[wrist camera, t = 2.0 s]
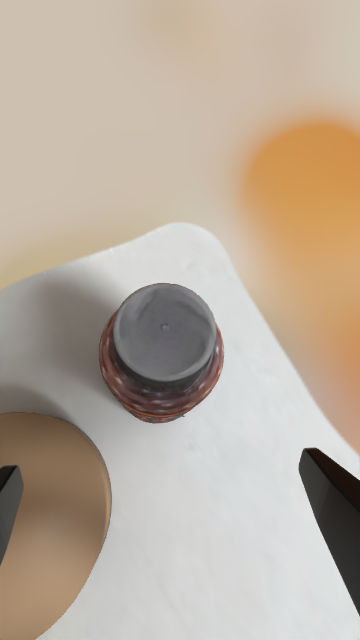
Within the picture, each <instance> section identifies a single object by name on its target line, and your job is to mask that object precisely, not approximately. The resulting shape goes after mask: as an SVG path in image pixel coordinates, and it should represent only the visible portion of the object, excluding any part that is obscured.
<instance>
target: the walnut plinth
mask: <svg viewBox="0 0 360 640" xmlns="http://www.w3.org/2000/svg"><path fill="white" fill-rule="evenodd" d="M5 465H18V466H19V468H20V471H21V475H22V478H23V482H24V489H23V494H22V497H21V501H20V505H19V508H18V512H17V515H16V519H15V522H14V526H13V529H12V533H11V537H10V540H9V543H8V547H7V550H6V553H5V555H4V558H3V561H2V563H1V566H0V640H35V639H37V638H38V637H39V636H40V635H42V634H43V633H44V632H45V631H47V630H48V629H49V628H50V627H51V626H52V625H53V624H54V623H55V622H56V621H57V620H58V619H59V618H60V617H61V616H62V615H63V614H64V613H65V612H66V610H67V609H68V608H69V607H70V605H71V604H72V603H73V602H74V600H75V599H76V597H77V596H78V594H79V593H80V591H81V589H82V588H83V586H84V585H85V583H86V581H87V579H88V577H89V575H90V573H91V571H92V569H93V567H94V564H95V562H96V560H97V558H98V556H99V554H100V552H101V549H102V546H103V544H104V541H105V538H106V535H107V531H108V527H109V523H110V516H111V505H112V494H111V483H110V478H109V474H108V470H107V467H106V464H105V462H104V459H103V457H102V455H101V454H100V452H99V450H98V448H97V447H96V446H95V444H94V443H93V441H92V440H91V439H90V438H89V437H88V436H87V435H86V434H85V433H84V432H82V431H81V430H80V429H78V428H77V427H75V426H74V425H72V424H70V423H68V422H66V421H63V420H61V419H58V418H54V417H49V416H45V415H40V414H35V413H26V412H15V413H5V414H0V468H1V467H3V466H5Z"/></svg>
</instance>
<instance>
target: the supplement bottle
mask: <svg viewBox="0 0 360 640" xmlns="http://www.w3.org/2000/svg"><path fill="white" fill-rule="evenodd" d="M223 359H224V346H223V340H222V337H221V333H220V330H219V328H218V326H217V324H216V322H215V320H214V317H213V314H212V312H211V310H210V309H209V307H208V305H207V304H206V303H205V302H204V301H203V300H202V298H201V297H200V296H199V295H197V294H196V293H195V292H193V291H192V290H190V289H188V288H185V287H183V286H180V285H177V284H169V283H157V284H153V285H148V286H146V287H143V288H140V289H138V290H137V291H135V292H134V293H132V294H131V295H130V296H129V297H128V298H127V299H126V300H125V301H124V302H123V303H122V305H121V306H120V308H119V309H118V310H117V311H116V312H115V313H114V314H113V316H112V317H111V318H110V320H109V321H108V323H107V324H106V326H105V328H104V330H103V333H102V336H101V340H100V344H99V362H100V368H101V372H102V375H103V378H104V380H105V382H106V384H107V386H108V387H109V389H110V390H111V392H112V393H113V395H114V396H115V397H116V398H117V399H118V401H119V402H121V404H122V405H123V406H124V408H125V409H126V410H127V411H128V412H129V413H131V414H132V415H133V416H135V417H136V418H138V419H140V420H142V421H144V422H149V423H165V422H170V421H173V420H175V419H177V418H179V417H181V416H183V415H184V414H185V413H187V412H188V411H190V410H191V409H192V408H194V407H195V406H196V405H198V404H199V403H200V402H201V401H202V400H204V399H205V398H206V397H207V396H208V394H209V393H210V392H211V391H212V389H213V388H214V386H215V384H216V383H217V381H218V379H219V376H220V374H221V371H222V367H223ZM183 417H184V416H183Z"/></svg>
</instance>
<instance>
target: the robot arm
mask: <svg viewBox="0 0 360 640" xmlns="http://www.w3.org/2000/svg"><path fill="white" fill-rule="evenodd" d="M299 473H300V476H301V479H302V482H303V485H304V488H305V490H306V493H307V496H308V499H309V502H310V505H311V507H312V510H313V513H314V516H315V519H316V521H317V524H318V526H319V528H320V531H321V533H322V535H323V537H324V539H325V542H326V544H327V546H328V548H329V550H330V552H331V555H332V557H333V559H334V561H335V563H336V566H337V568H338V570H339V572H340V574H341V576H342V579H343V581H344V583H345V585H346V587H347V590H348V592H349V594H350V596H351V598H352V600H353V603H354V605H355V607H356V609H357V611H358V614H359V616H360V480H358V479H357V478H356V477H354V476H353V475H352V474H350V473H349V472H348V471H347V470H345V469H344V468H343V467H341V466H340V465H339V464H337V463H336V462H335V461H333V460H332V459H331V458H329V457H328V456H327V455H326V454H324V453H323V452H322V451H320V450H319V449H317V448H304V449H303V451H302V455H301V459H300V462H299ZM23 489H24V482H23V478H22V475H21V471H20V468H19V466H18V465H5V466H3V467H1V468H0V566H1V563H2V561H3V558H4V555H5V553H6V550H7V547H8V543H9V540H10V537H11V533H12V529H13V526H14V522H15V519H16V515H17V512H18V508H19V505H20V501H21V497H22V494H23Z"/></svg>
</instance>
